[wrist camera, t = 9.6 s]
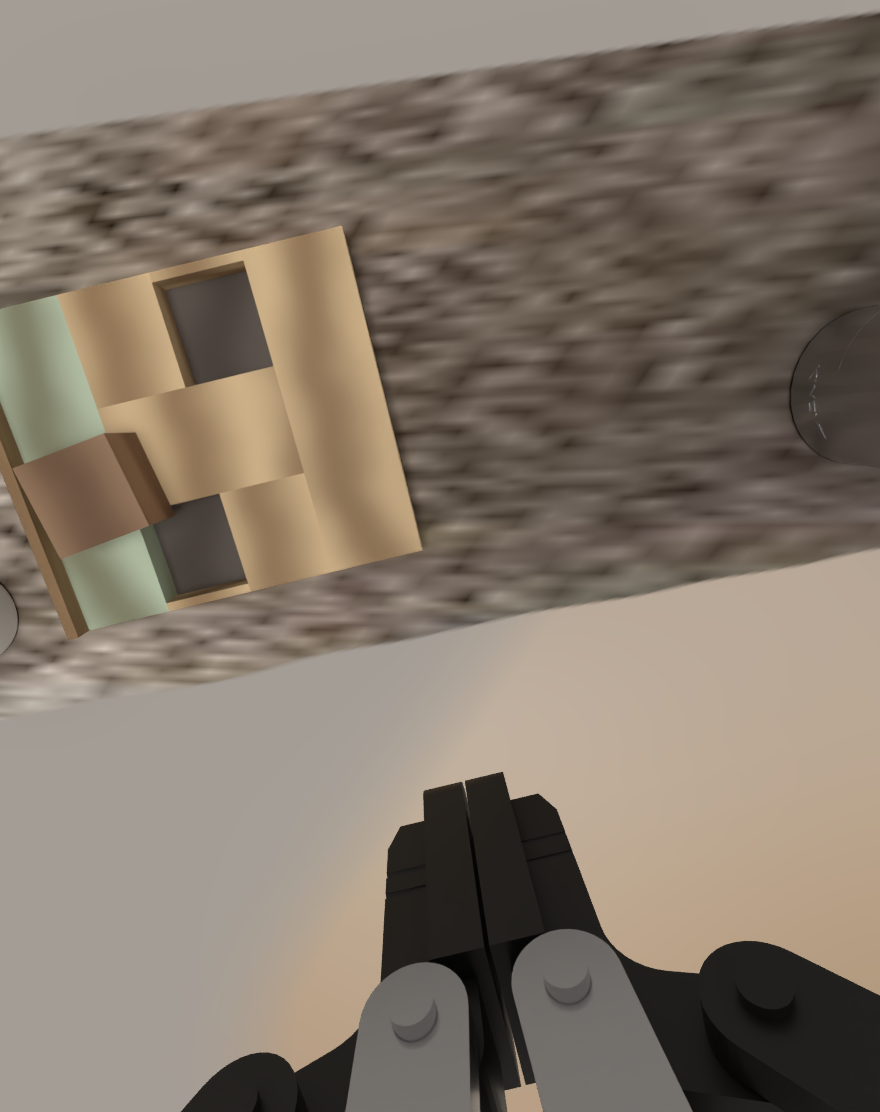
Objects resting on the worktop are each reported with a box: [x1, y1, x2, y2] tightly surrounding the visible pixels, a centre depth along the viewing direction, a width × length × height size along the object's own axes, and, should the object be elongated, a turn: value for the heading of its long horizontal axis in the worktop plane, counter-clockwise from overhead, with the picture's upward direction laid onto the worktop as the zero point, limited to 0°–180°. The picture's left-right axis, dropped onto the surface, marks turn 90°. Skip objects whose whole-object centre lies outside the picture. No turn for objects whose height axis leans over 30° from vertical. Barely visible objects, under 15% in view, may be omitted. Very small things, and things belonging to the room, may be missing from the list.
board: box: [0, 226, 422, 640], centre depth 34 cm, size 21×18×3 cm
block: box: [12, 432, 175, 559], centre depth 32 cm, size 5×5×4 cm
